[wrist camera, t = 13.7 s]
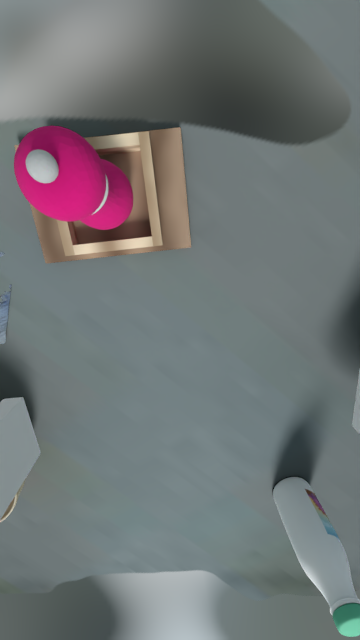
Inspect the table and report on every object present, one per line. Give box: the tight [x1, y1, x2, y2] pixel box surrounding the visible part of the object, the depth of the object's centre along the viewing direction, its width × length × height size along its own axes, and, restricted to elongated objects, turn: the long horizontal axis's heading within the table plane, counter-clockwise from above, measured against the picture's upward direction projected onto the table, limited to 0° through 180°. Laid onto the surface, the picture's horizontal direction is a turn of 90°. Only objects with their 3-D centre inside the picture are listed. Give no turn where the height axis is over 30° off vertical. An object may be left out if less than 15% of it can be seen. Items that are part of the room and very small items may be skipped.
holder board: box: [14, 127, 191, 263], centre depth 34 cm, size 20×14×4 cm
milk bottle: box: [273, 477, 360, 637], centre depth 45 cm, size 8×8×20 cm
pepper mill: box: [14, 126, 133, 230], centre depth 25 cm, size 7×7×20 cm
